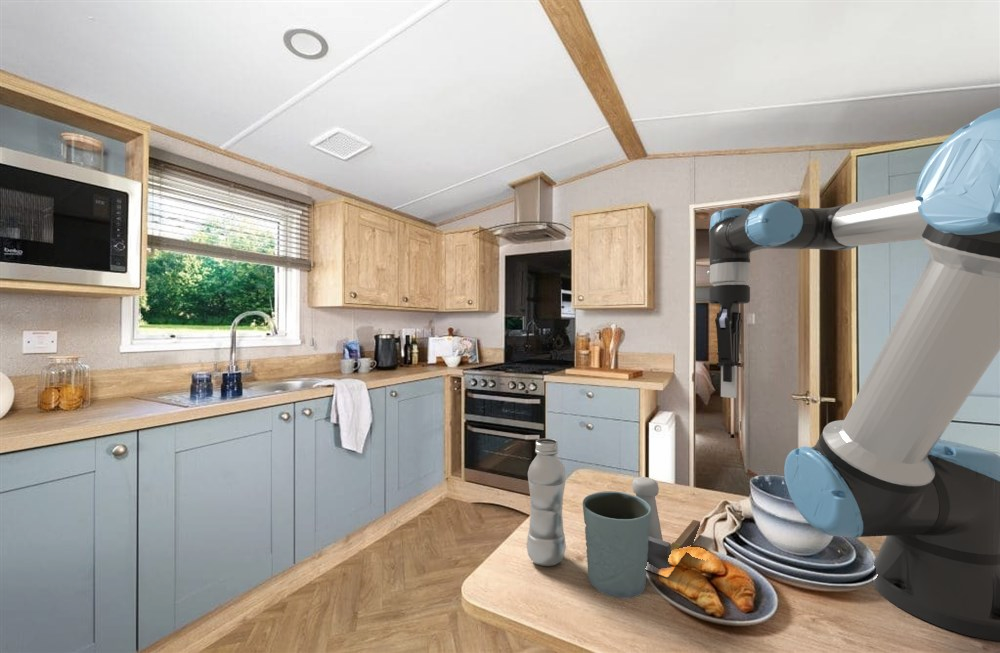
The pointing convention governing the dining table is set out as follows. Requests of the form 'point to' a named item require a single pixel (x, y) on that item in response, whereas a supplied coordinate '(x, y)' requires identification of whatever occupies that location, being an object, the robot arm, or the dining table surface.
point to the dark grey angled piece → (670, 546)
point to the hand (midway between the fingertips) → (728, 396)
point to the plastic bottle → (546, 505)
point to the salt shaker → (649, 501)
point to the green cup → (617, 542)
